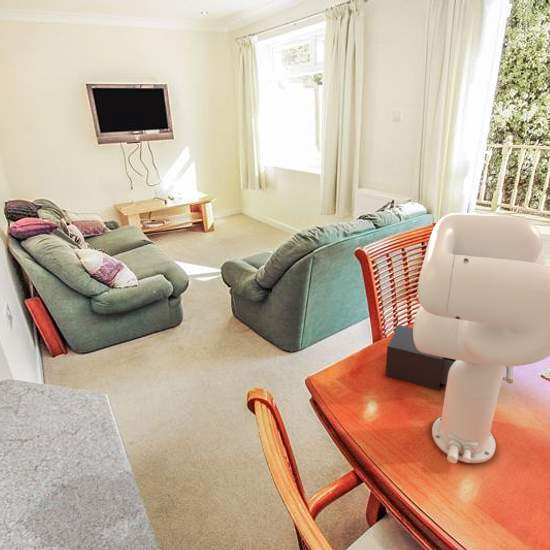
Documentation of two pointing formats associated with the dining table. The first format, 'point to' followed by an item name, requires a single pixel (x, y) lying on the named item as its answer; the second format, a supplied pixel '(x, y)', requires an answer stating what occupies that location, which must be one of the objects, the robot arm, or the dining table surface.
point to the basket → (448, 362)
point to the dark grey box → (412, 361)
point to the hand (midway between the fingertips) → (469, 352)
